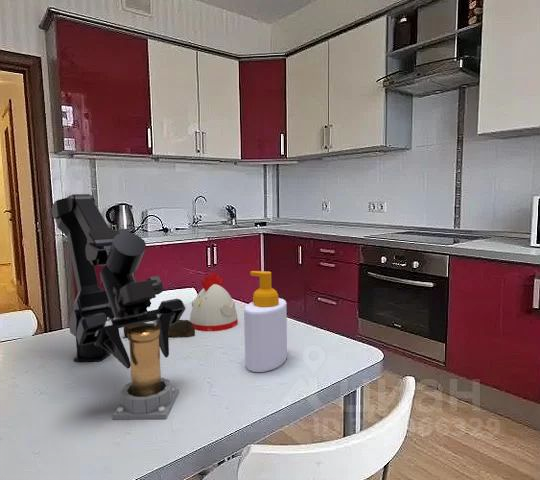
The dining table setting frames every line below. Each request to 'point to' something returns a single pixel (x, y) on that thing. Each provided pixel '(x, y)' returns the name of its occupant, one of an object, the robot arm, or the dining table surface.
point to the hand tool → (170, 328)
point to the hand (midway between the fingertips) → (148, 361)
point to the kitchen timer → (213, 307)
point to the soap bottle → (265, 327)
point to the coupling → (145, 360)
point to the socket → (146, 403)
